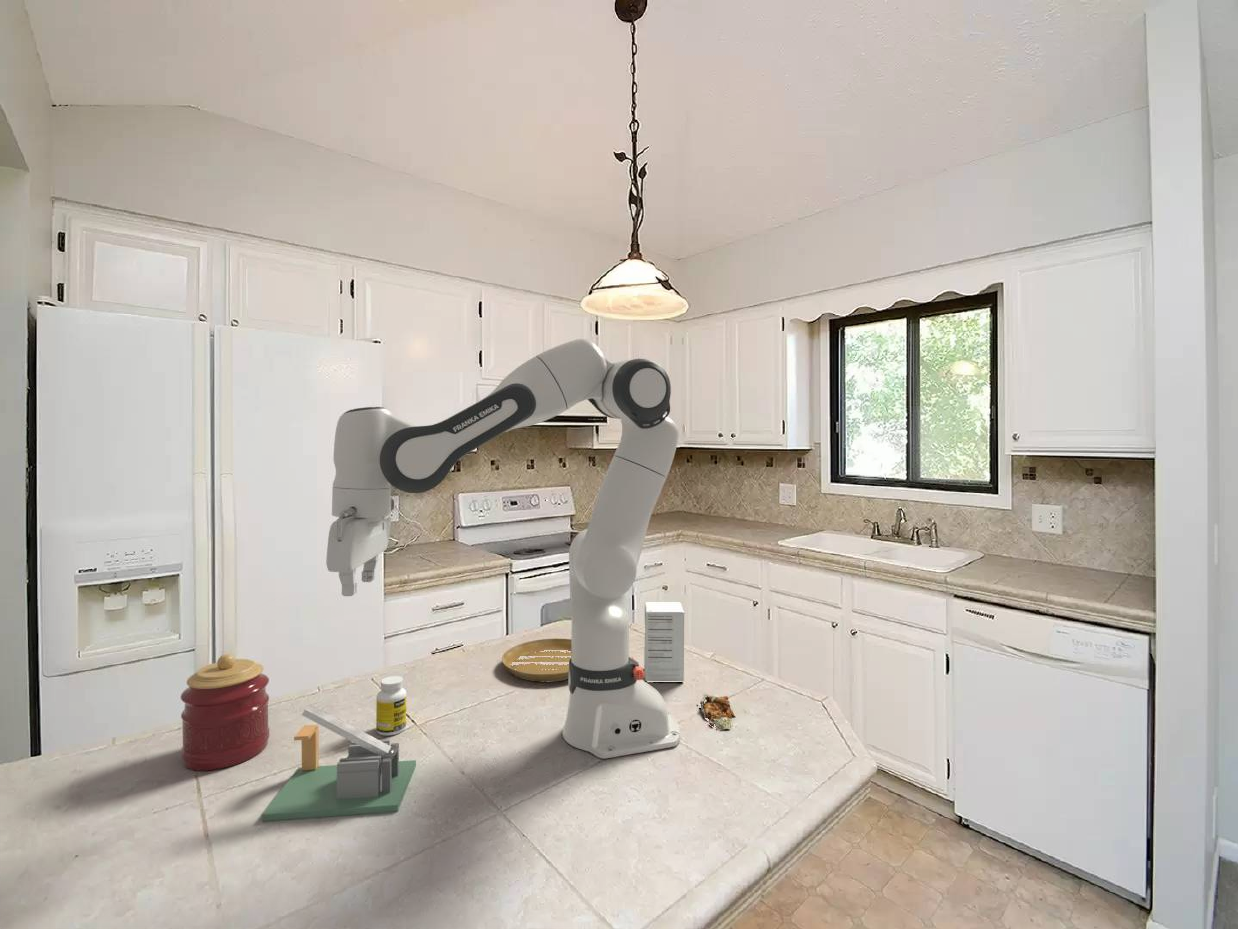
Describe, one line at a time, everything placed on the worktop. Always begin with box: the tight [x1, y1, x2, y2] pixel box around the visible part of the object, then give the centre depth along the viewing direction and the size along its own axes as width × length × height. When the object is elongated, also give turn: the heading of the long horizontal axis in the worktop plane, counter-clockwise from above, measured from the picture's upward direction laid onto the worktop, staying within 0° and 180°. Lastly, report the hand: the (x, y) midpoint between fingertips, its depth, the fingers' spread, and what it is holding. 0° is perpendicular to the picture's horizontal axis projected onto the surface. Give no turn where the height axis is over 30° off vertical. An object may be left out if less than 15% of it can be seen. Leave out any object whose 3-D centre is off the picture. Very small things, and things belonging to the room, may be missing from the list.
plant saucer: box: [501, 637, 571, 682], centre depth 143 cm, size 24×24×3 cm
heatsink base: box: [261, 738, 417, 822], centre depth 91 cm, size 19×12×6 cm, turn 97°
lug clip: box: [293, 724, 320, 770], centre depth 94 cm, size 2×4×7 cm, turn 7°
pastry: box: [699, 693, 735, 731], centre depth 117 cm, size 7×12×4 cm, turn 8°
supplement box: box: [643, 601, 685, 681], centre depth 138 cm, size 10×9×17 cm
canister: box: [180, 653, 270, 771], centre depth 102 cm, size 13×13×18 cm
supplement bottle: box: [375, 675, 407, 737], centre depth 110 cm, size 5×5×10 cm
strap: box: [301, 703, 398, 762], centre depth 90 cm, size 16×3×1 cm
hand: (359, 588), depth 94 cm, fingers open, 8 cm apart
